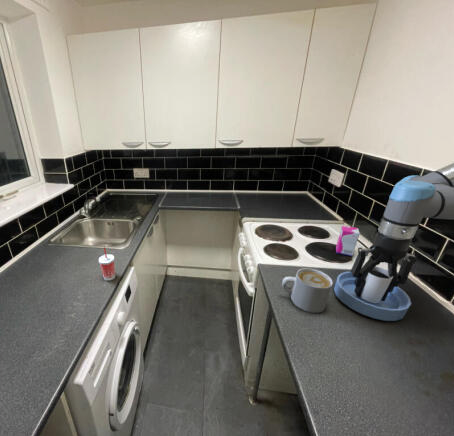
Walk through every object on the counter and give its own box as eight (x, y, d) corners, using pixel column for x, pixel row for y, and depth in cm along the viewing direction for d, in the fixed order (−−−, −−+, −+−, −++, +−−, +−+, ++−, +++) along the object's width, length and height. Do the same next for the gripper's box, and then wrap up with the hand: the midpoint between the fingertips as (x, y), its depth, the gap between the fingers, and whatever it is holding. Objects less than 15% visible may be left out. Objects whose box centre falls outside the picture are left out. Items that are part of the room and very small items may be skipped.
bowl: (387, 288, 81) (392, 277, 79) (418, 329, 66) (425, 317, 64) (327, 278, 88) (331, 267, 86) (342, 314, 72) (346, 301, 70)
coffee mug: (325, 297, 79) (333, 274, 75) (324, 317, 71) (332, 292, 67) (282, 284, 86) (287, 261, 82) (277, 300, 78) (282, 277, 74)
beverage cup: (117, 279, 92) (113, 250, 86) (102, 283, 90) (96, 253, 85) (116, 271, 97) (111, 242, 92) (101, 274, 96) (96, 245, 90)
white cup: (372, 290, 79) (382, 266, 75) (387, 304, 73) (399, 279, 69) (351, 289, 79) (360, 265, 75) (364, 303, 73) (374, 278, 69)
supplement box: (350, 250, 104) (358, 227, 99) (352, 256, 100) (360, 233, 95) (335, 247, 107) (342, 225, 102) (335, 253, 102) (343, 230, 98)
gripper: (359, 236, 66) (338, 297, 76) (447, 245, 60) (412, 311, 70) (350, 225, 73) (332, 283, 82) (429, 232, 66) (399, 294, 76)
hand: (368, 295), depth 76 cm, fingers closed on white cup, 6 cm apart
